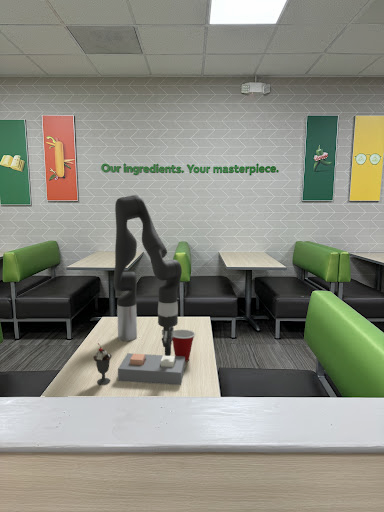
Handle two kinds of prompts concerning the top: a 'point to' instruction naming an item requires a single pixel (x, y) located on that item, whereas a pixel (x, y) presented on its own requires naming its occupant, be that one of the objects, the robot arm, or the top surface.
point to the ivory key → (168, 361)
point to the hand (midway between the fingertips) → (167, 354)
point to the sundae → (102, 365)
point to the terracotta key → (137, 359)
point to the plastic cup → (183, 342)
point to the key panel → (152, 370)
